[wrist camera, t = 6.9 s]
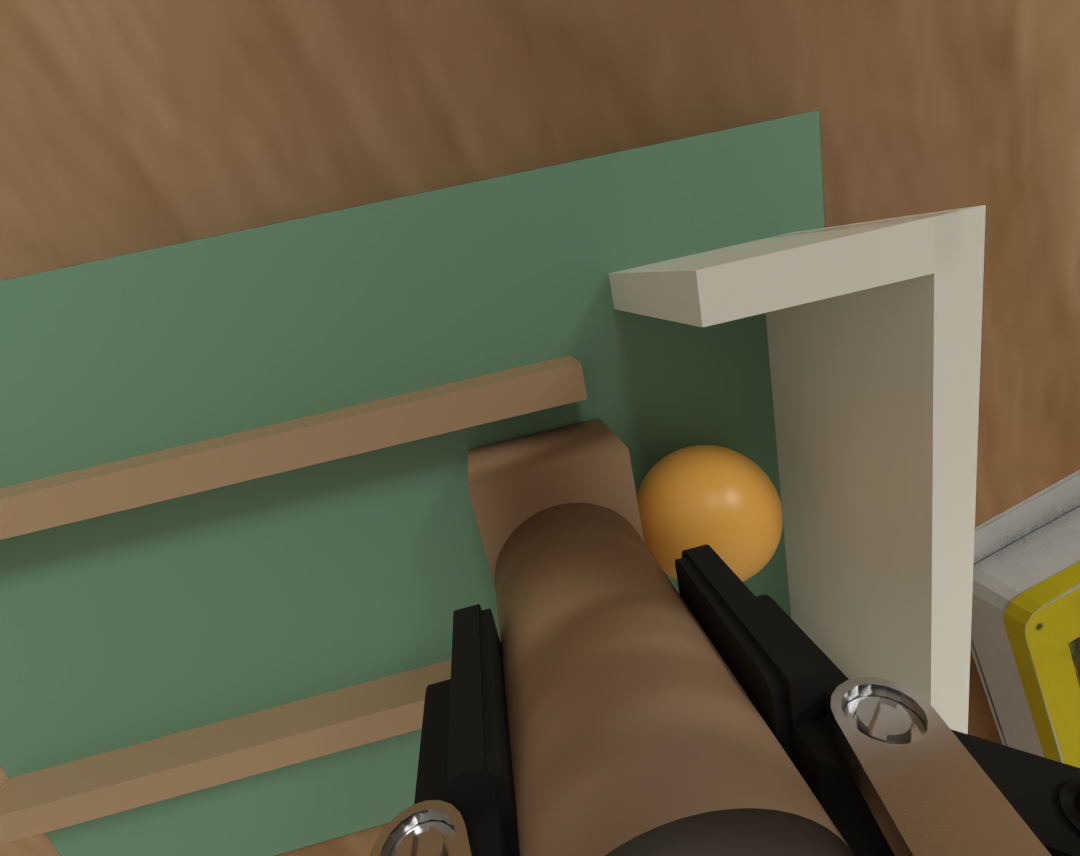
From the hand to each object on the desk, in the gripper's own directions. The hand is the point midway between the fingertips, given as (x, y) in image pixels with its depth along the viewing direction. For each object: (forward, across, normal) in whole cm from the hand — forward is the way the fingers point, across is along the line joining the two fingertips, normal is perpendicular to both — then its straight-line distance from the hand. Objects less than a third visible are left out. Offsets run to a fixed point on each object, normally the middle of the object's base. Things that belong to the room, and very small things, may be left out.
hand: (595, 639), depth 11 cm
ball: (+4, -4, 0) cm, 6 cm away
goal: (+6, -6, 0) cm, 8 cm away
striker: (+6, 0, 0) cm, 6 cm away
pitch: (+7, +4, 0) cm, 8 cm away
